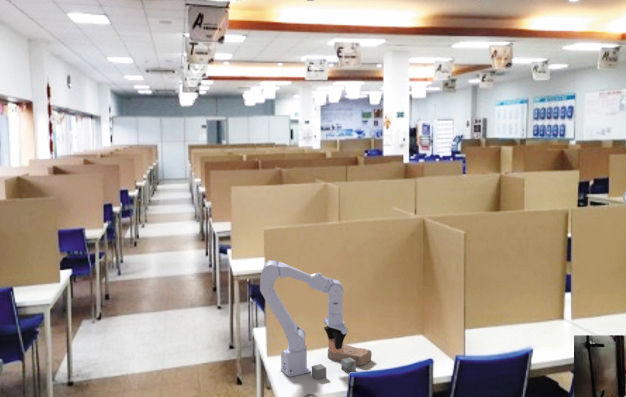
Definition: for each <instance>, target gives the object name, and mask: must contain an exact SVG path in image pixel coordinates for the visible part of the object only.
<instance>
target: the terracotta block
mask: <svg viewBox="0 0 626 397" xmlns="http://www.w3.org/2000/svg"><path fill="white" fill-rule="evenodd" d="M343 344H344V343H343ZM343 344H342V348H341V349H336V347H335V339H328V349H329V350H330V351H331V352H333V353H337V352H341V351H343Z"/></svg>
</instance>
